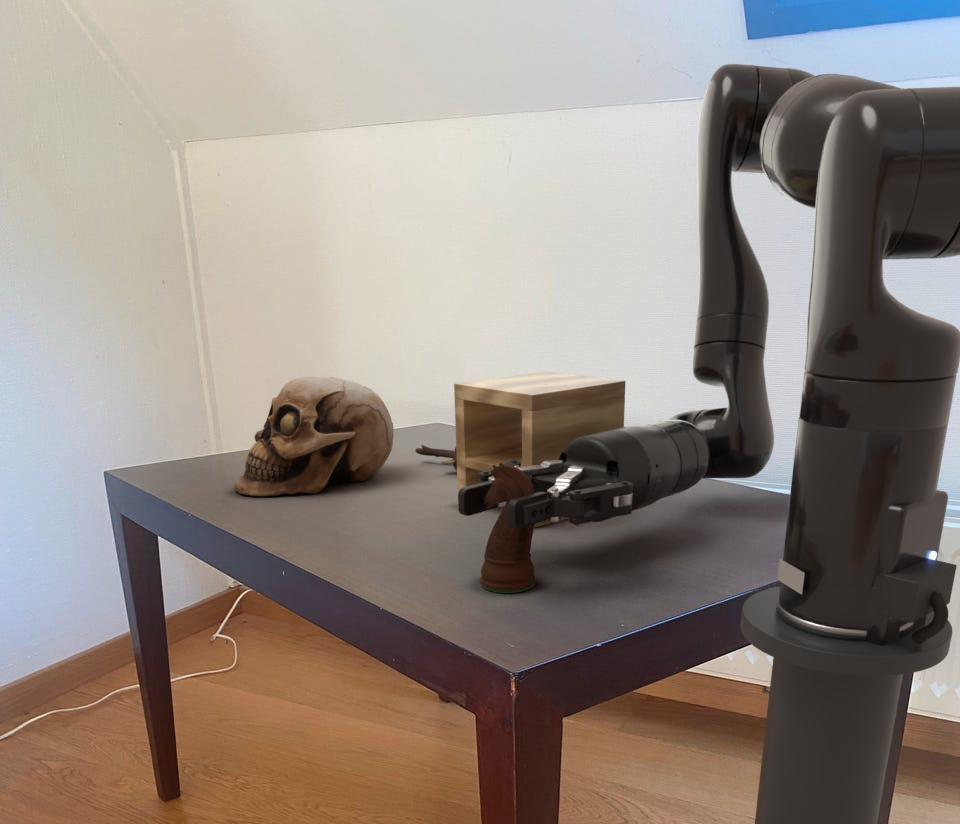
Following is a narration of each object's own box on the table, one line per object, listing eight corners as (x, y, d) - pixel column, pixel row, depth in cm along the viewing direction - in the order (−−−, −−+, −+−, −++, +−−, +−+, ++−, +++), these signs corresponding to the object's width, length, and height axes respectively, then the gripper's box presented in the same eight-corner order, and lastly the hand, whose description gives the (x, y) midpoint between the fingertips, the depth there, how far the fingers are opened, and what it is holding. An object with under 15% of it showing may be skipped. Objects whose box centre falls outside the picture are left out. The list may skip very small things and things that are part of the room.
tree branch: (573, 435, 119) (519, 445, 107) (571, 469, 120) (517, 481, 108) (456, 425, 128) (395, 433, 116) (456, 457, 129) (395, 467, 117)
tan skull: (221, 492, 107) (217, 373, 103) (302, 476, 122) (301, 372, 118) (339, 507, 102) (339, 383, 97) (407, 488, 117) (410, 380, 113)
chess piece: (502, 571, 79) (499, 456, 75) (551, 582, 76) (551, 463, 72) (469, 586, 76) (464, 467, 72) (519, 598, 73) (517, 474, 69)
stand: (621, 504, 99) (625, 380, 93) (532, 528, 91) (532, 395, 86) (545, 485, 107) (545, 371, 102) (458, 506, 100) (453, 383, 95)
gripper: (559, 420, 86) (423, 449, 75) (690, 439, 76) (555, 475, 65) (558, 499, 89) (427, 537, 78) (684, 526, 79) (554, 574, 68)
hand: (486, 508), depth 72 cm, fingers closed on chess piece, 5 cm apart
